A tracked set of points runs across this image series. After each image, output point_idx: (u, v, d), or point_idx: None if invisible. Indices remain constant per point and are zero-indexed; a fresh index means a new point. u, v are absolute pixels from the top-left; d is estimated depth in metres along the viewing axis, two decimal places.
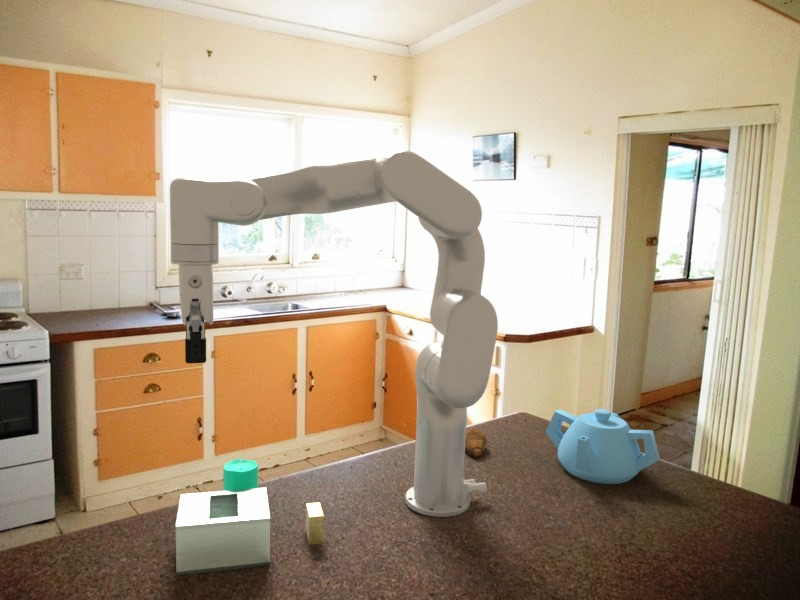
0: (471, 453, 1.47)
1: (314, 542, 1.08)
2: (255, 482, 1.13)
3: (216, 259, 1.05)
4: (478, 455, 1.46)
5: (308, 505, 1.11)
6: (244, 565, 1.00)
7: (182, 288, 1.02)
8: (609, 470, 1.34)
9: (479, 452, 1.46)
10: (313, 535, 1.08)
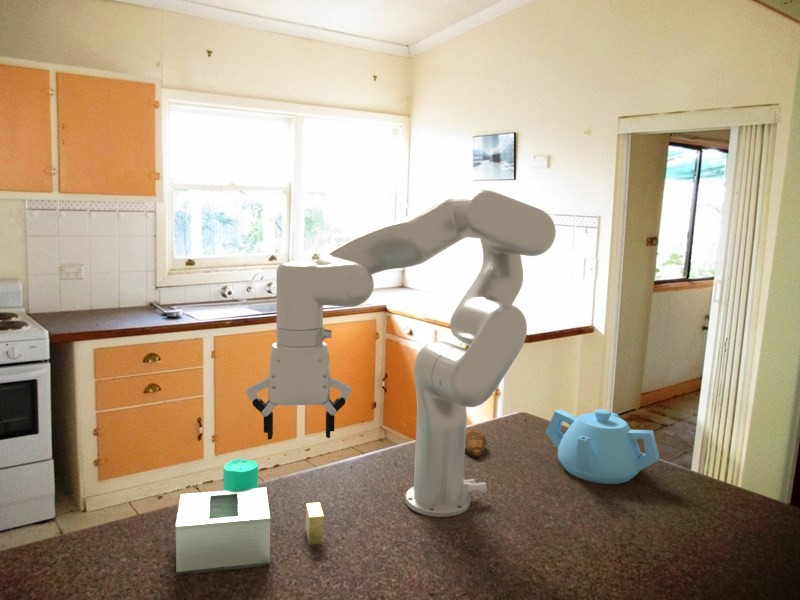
0: (471, 453, 1.47)
1: (314, 542, 1.08)
2: (255, 482, 1.13)
3: None
4: (478, 455, 1.46)
5: (308, 505, 1.11)
6: (244, 565, 1.00)
7: (327, 369, 1.05)
8: (609, 470, 1.34)
9: (479, 453, 1.46)
10: (313, 535, 1.08)
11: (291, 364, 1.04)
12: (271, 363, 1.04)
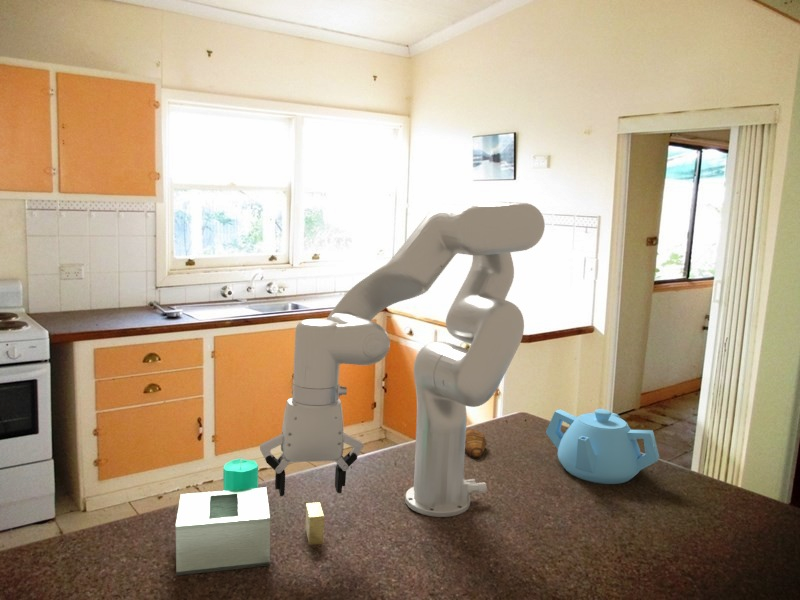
0: (471, 454, 1.47)
1: (314, 542, 1.08)
2: (255, 482, 1.13)
3: None
4: (478, 456, 1.46)
5: (308, 505, 1.11)
6: (244, 565, 1.00)
7: (342, 426, 1.07)
8: (609, 470, 1.34)
9: (479, 453, 1.46)
10: (313, 535, 1.08)
11: (308, 422, 1.04)
12: (287, 420, 1.04)
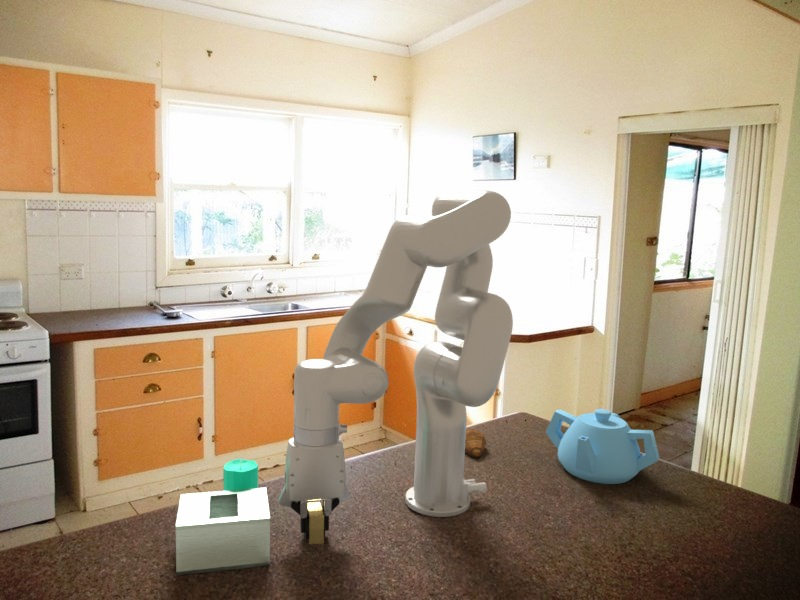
0: (470, 454, 1.47)
1: (314, 542, 1.08)
2: (255, 482, 1.13)
3: None
4: (477, 456, 1.46)
5: (308, 505, 1.11)
6: (244, 565, 1.00)
7: (343, 464, 1.08)
8: (609, 470, 1.34)
9: (479, 453, 1.46)
10: (313, 534, 1.08)
11: (310, 462, 1.06)
12: (289, 461, 1.06)
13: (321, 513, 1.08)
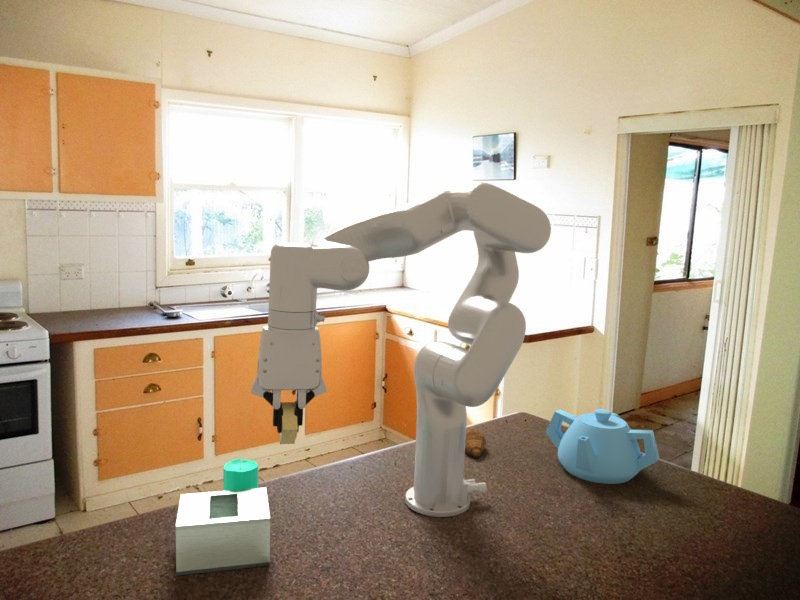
0: (470, 453, 1.47)
1: (285, 443, 1.06)
2: (255, 482, 1.13)
3: None
4: (477, 455, 1.46)
5: (283, 406, 1.05)
6: (244, 565, 1.00)
7: (319, 353, 1.03)
8: (609, 470, 1.34)
9: (478, 452, 1.46)
10: (285, 439, 1.05)
11: (284, 347, 1.01)
12: (263, 346, 1.01)
13: (295, 425, 1.03)
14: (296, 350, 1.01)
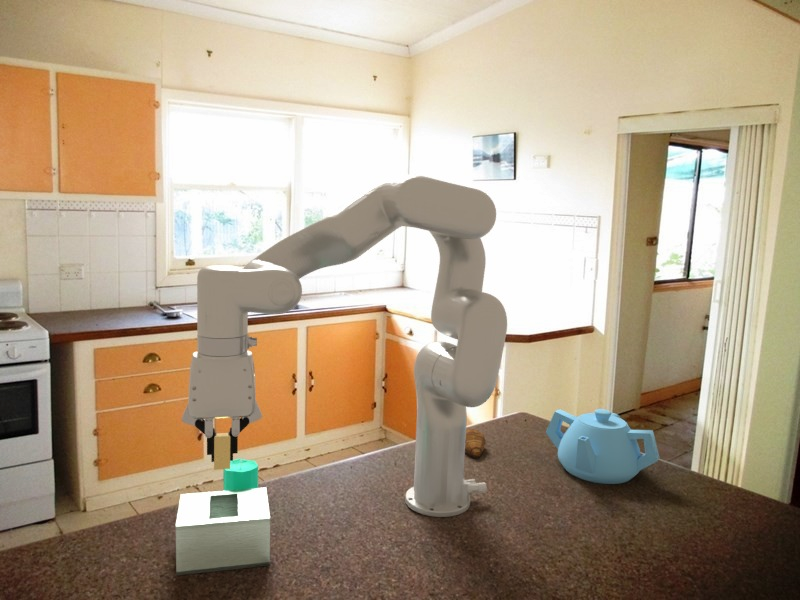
0: (470, 453, 1.47)
1: None
2: (255, 482, 1.13)
3: None
4: (477, 455, 1.46)
5: (216, 442, 1.00)
6: (244, 565, 1.00)
7: (252, 379, 1.00)
8: (609, 470, 1.34)
9: (478, 452, 1.46)
10: None
11: (213, 374, 0.97)
12: (191, 374, 0.97)
13: (227, 464, 1.00)
14: (226, 377, 0.98)
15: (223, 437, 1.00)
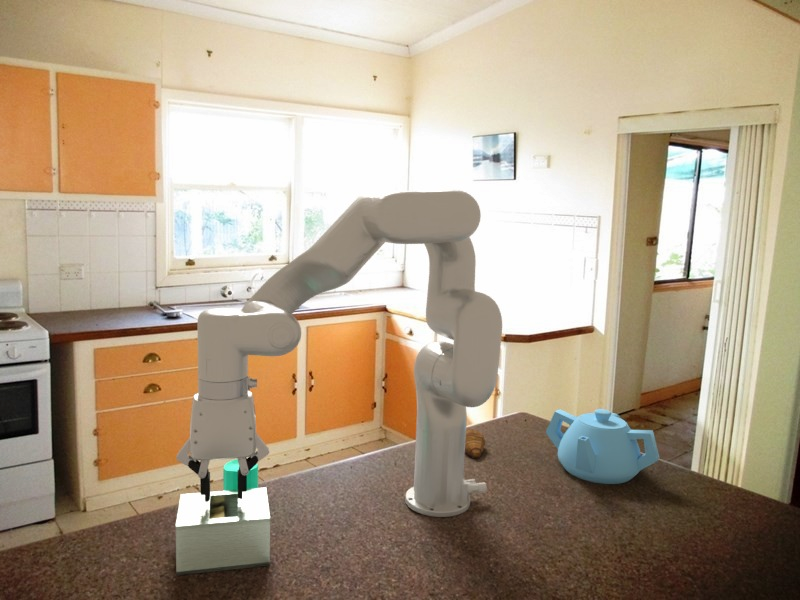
0: (470, 454, 1.47)
1: None
2: (255, 482, 1.13)
3: None
4: (477, 456, 1.46)
5: None
6: (244, 565, 1.00)
7: (252, 420, 1.01)
8: (609, 470, 1.34)
9: (478, 453, 1.46)
10: None
11: (214, 417, 0.99)
12: (193, 417, 0.98)
13: None
14: (227, 419, 0.99)
15: None
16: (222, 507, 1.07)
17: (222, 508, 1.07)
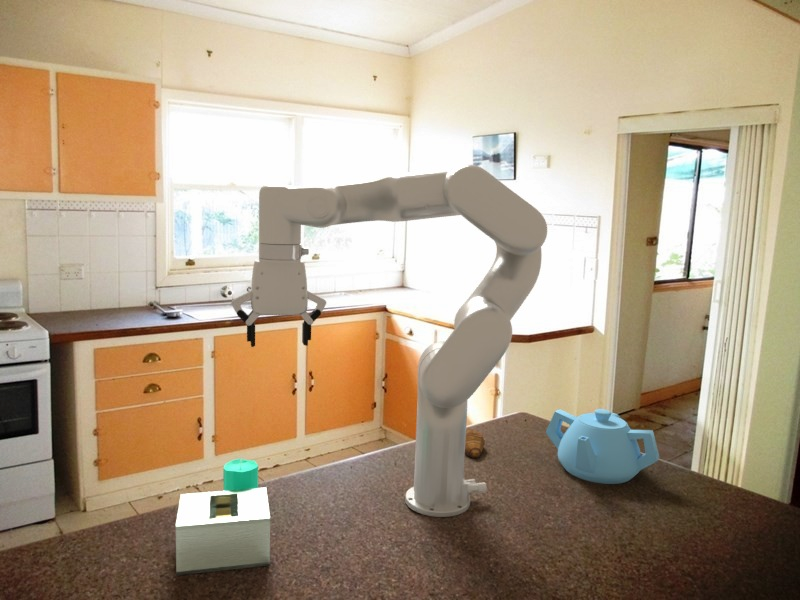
0: (469, 454, 1.47)
1: None
2: (255, 482, 1.13)
3: None
4: (476, 456, 1.46)
5: None
6: (244, 565, 1.00)
7: (305, 282, 1.17)
8: (609, 470, 1.34)
9: (477, 453, 1.46)
10: None
11: (273, 276, 1.15)
12: (255, 276, 1.15)
13: None
14: (284, 279, 1.16)
15: None
16: (229, 508, 1.08)
17: (229, 509, 1.07)
